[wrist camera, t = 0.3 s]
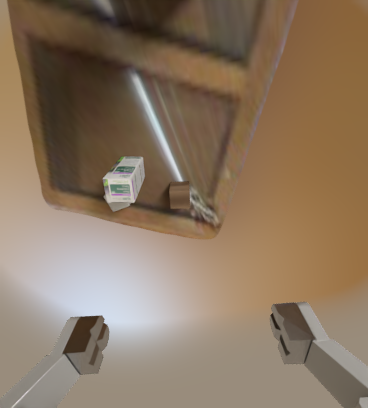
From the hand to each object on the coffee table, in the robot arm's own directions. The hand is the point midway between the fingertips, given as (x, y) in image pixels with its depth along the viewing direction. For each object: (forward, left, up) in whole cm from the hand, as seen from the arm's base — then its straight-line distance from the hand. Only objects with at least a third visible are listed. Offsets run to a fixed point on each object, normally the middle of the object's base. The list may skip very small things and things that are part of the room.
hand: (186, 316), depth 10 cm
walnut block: (+15, -2, -47) cm, 49 cm away
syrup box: (+8, -14, -47) cm, 49 cm away
